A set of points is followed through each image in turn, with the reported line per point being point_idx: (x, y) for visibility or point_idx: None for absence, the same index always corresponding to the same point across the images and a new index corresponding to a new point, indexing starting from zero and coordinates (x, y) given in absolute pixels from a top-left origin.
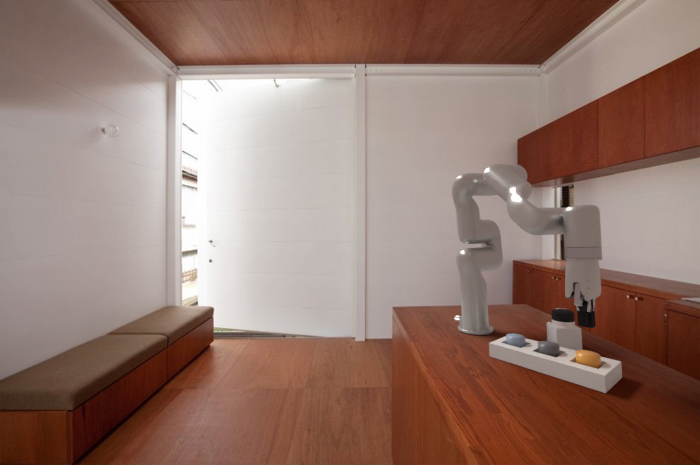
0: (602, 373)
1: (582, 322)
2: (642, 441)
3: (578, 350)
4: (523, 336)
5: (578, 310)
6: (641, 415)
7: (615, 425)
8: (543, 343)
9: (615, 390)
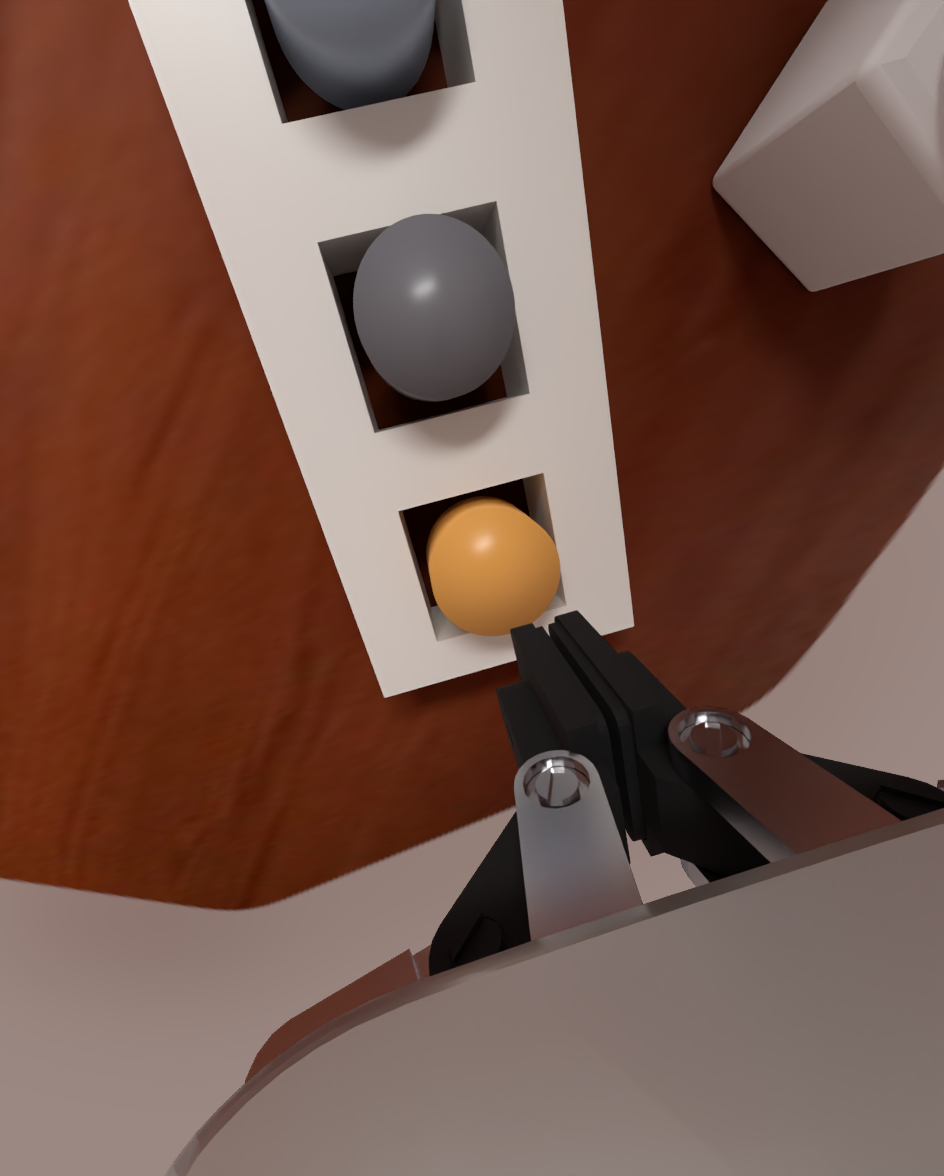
0: (400, 679)
1: (501, 705)
2: (193, 853)
3: (504, 515)
4: None
5: (528, 778)
6: (342, 779)
7: (194, 791)
8: (414, 275)
9: None
